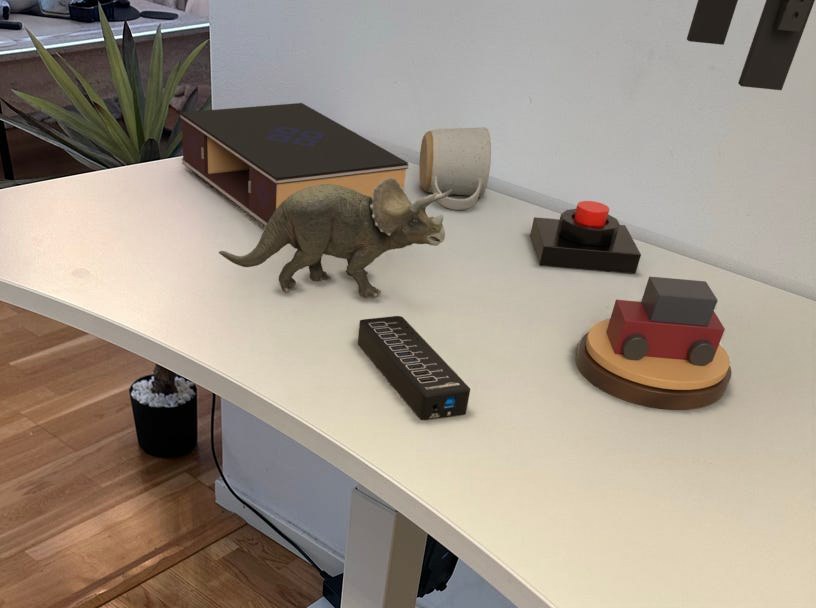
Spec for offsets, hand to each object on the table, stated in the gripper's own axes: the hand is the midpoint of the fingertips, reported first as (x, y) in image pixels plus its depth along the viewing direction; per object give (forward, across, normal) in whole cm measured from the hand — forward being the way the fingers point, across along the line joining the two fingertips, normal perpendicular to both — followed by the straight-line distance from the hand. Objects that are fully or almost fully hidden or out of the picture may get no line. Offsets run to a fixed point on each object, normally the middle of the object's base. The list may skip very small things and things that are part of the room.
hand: (730, 63), depth 65 cm
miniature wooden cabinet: (+26, -43, -33) cm, 60 cm away
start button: (+22, -32, +1) cm, 39 cm away
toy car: (+24, -4, +3) cm, 25 cm away
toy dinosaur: (+26, -17, -28) cm, 42 cm away
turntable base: (+26, -4, +3) cm, 26 cm away
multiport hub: (+26, +1, -20) cm, 33 cm away
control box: (+26, -32, +2) cm, 41 cm away
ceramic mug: (+26, -48, -12) cm, 56 cm away
